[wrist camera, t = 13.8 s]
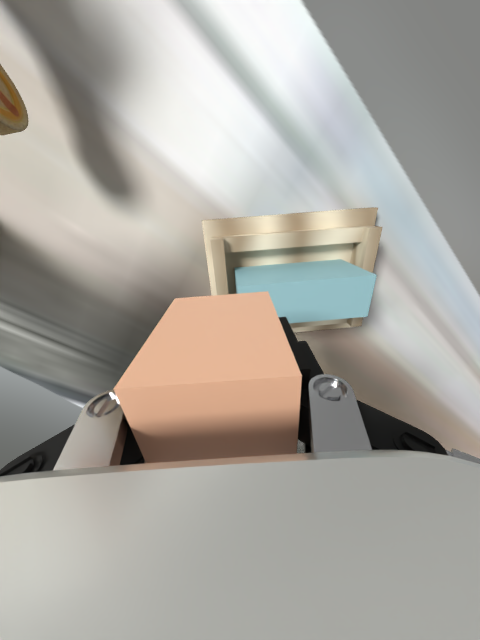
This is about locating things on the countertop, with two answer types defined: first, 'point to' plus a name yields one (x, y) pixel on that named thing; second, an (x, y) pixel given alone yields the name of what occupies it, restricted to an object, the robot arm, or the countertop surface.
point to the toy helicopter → (11, 107)
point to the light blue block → (311, 289)
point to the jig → (291, 247)
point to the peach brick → (214, 382)
